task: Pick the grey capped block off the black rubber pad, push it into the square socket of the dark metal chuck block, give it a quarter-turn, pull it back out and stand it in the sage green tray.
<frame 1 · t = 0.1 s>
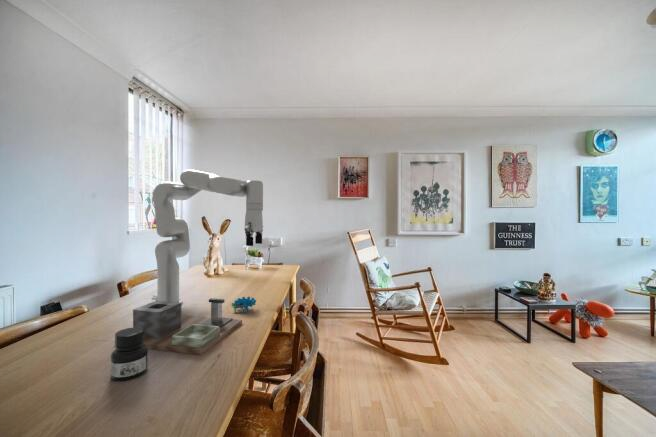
hand: (254, 244, 140), 31 cm above the table, tool pointing down, fingers open, 9 cm apart
ink bottle: (129, 373, 87), on the table
workbench: (184, 333, 115), on the table
blue lumpy piece: (243, 311, 141), on the table
grey capped block: (216, 321, 122), point 2 cm above the table, touching workbench
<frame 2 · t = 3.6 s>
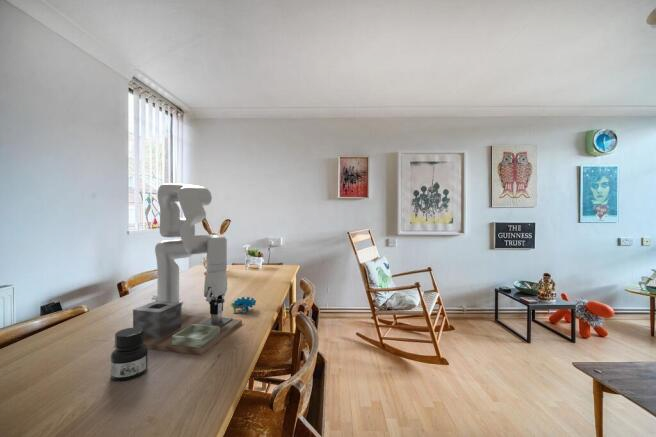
hand: (216, 312, 122), 6 cm above the table, tool pointing down, fingers closed on grey capped block, 3 cm apart
grey capped block: (216, 321, 122), point 2 cm above the table, touching gripper, workbench
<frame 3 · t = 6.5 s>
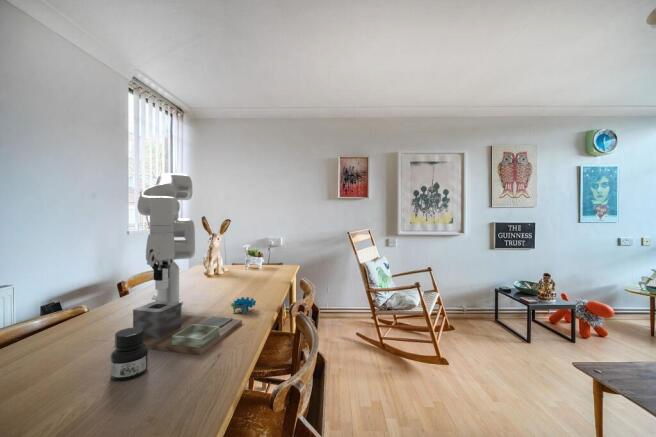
hand: (161, 278, 112), 21 cm above the table, tool pointing down, fingers closed on grey capped block, 3 cm apart
grey capped block: (161, 288, 113), point 17 cm above the table, touching gripper
everything else where it was.
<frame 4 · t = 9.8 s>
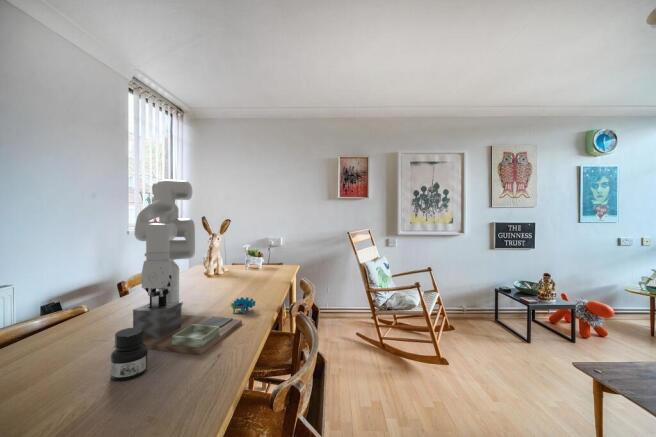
hand: (158, 305, 112), 11 cm above the table, tool pointing down, fingers closed on grey capped block, 3 cm apart
grey capped block: (158, 315, 112), point 8 cm above the table, touching gripper
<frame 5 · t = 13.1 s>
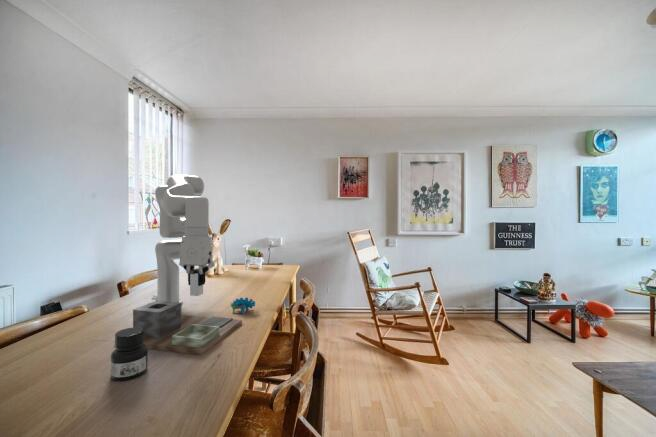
hand: (196, 284, 106), 21 cm above the table, tool pointing down, fingers closed on grey capped block, 3 cm apart
grey capped block: (196, 294, 106), point 17 cm above the table, touching gripper
when the fingers open (7 cm above the table, at t = 16.0 s): grey capped block stays where it is, resting on workbench.
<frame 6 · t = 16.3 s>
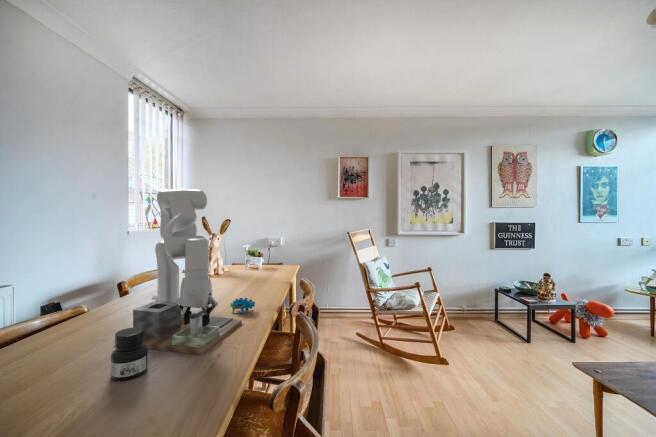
hand: (196, 324, 106), 7 cm above the table, tool pointing down, fingers open, 6 cm apart
grey capped block: (196, 337, 106), point 2 cm above the table, touching workbench
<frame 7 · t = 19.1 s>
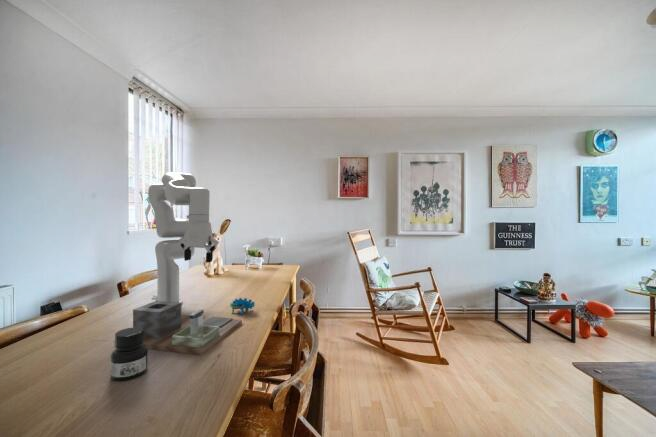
hand: (198, 261, 122), 26 cm above the table, tool pointing down, fingers open, 9 cm apart
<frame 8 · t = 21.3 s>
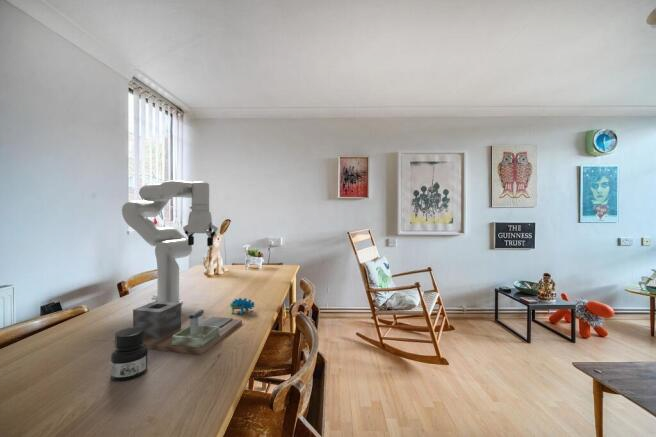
hand: (200, 245, 140), 30 cm above the table, tool pointing down, fingers open, 9 cm apart
at the end: grey capped block 0.0 cm from the target spot on the workbench, point 2.1 cm above the workbench's base; the gripper is holding nothing; grey capped block tilted 0° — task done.
